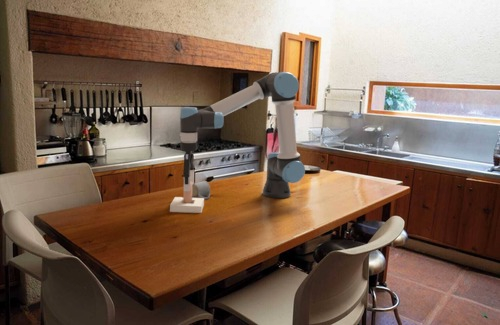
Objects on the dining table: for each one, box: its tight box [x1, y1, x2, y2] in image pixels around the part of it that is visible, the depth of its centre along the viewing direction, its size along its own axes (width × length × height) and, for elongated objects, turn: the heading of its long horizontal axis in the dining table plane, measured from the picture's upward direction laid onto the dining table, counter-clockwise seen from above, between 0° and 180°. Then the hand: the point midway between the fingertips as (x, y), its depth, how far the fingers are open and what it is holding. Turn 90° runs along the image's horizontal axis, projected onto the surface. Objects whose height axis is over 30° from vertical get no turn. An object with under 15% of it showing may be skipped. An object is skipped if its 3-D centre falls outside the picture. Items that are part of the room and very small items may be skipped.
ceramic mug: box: [192, 180, 211, 200], centre depth 210 cm, size 11×8×8 cm
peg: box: [182, 182, 193, 204], centre depth 190 cm, size 4×4×12 cm
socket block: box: [169, 196, 205, 214], centre depth 191 cm, size 14×14×3 cm
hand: (188, 187), depth 189 cm, fingers open, 13 cm apart
